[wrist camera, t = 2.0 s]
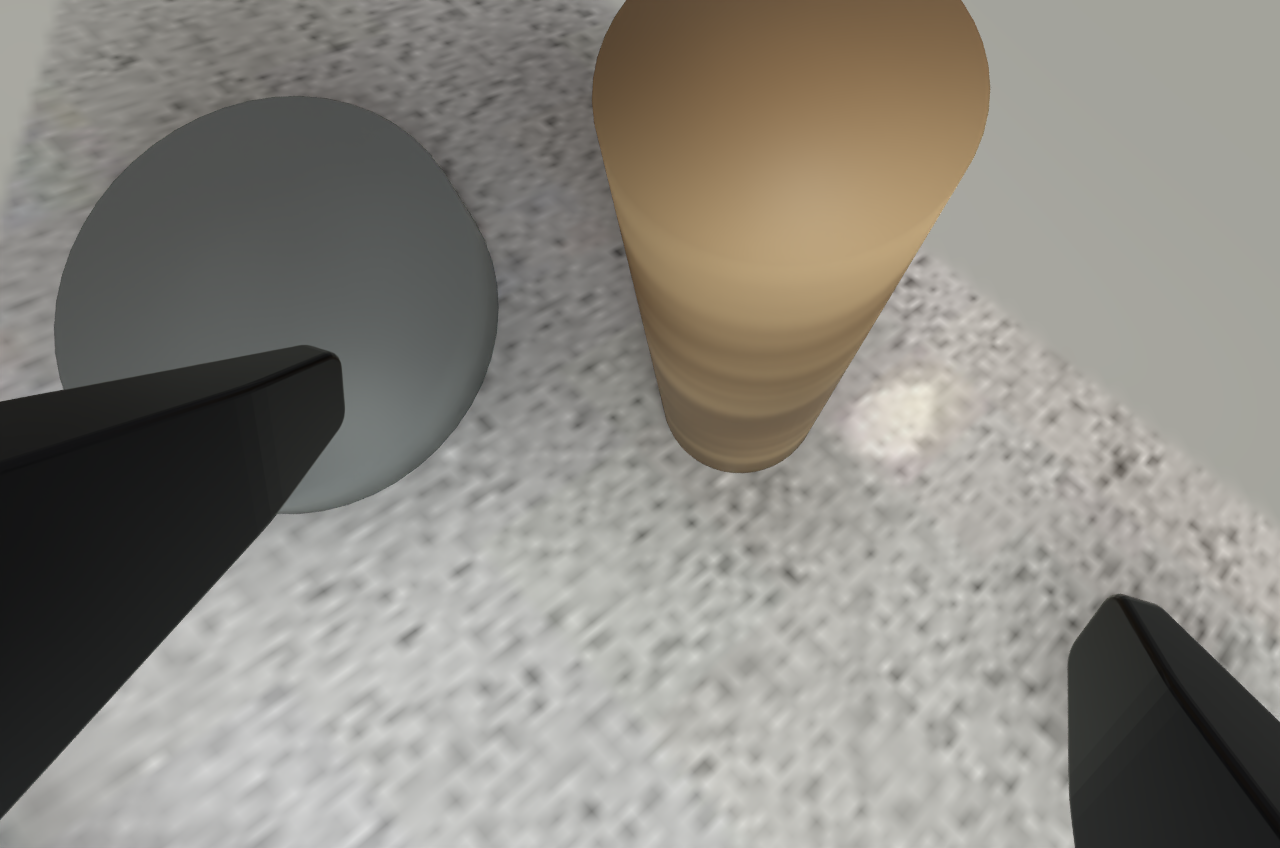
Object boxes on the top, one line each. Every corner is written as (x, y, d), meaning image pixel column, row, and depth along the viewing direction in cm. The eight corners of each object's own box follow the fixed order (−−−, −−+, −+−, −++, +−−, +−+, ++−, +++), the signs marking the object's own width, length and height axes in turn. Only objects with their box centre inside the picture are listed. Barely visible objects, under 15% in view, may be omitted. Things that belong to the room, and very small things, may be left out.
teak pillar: (822, 469, 19) (1018, 248, 7) (666, 476, 19) (596, 279, 7) (808, 321, 20) (961, -99, 8) (660, 331, 20) (588, -58, 8)
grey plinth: (497, 504, 20) (467, 491, 17) (105, 523, 21) (24, 513, 18) (499, 134, 22) (473, 78, 20) (149, 165, 23) (84, 115, 21)
